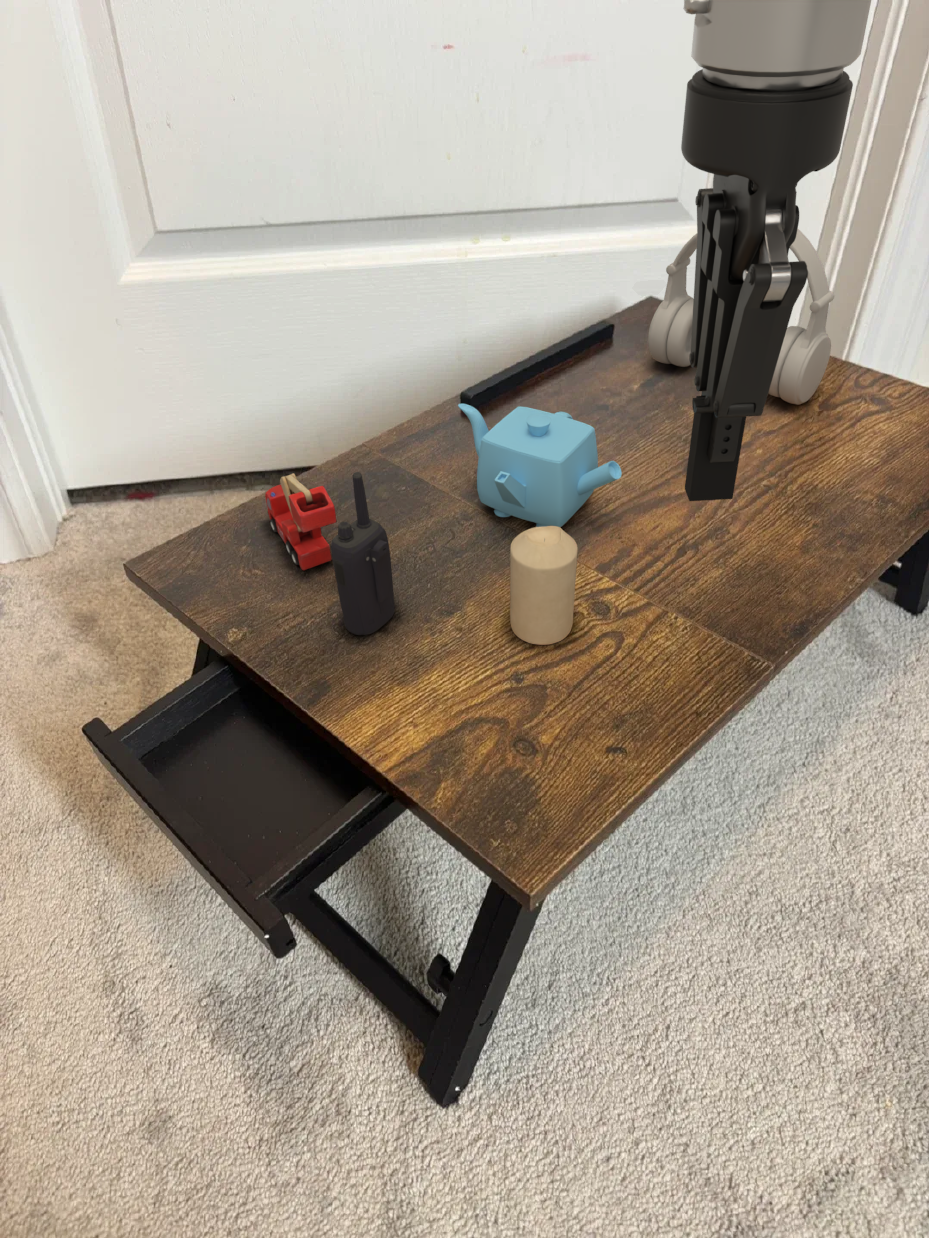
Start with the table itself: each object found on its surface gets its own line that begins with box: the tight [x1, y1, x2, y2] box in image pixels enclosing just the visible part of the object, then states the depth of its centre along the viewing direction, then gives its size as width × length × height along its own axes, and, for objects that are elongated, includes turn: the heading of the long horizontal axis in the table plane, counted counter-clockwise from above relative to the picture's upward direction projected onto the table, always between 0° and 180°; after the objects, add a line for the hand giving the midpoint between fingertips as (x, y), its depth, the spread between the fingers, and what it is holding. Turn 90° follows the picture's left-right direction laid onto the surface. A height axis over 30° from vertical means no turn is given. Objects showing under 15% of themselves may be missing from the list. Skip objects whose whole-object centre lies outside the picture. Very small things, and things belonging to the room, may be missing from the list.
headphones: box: [647, 228, 835, 406], centre depth 107 cm, size 20×8×19 cm, turn 50°
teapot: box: [457, 403, 623, 528], centre depth 92 cm, size 18×14×10 cm
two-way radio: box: [330, 471, 396, 636], centre depth 78 cm, size 6×4×15 cm
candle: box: [509, 526, 579, 646], centre depth 79 cm, size 6×6×10 cm
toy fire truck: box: [264, 473, 337, 571], centre depth 88 cm, size 3×14×10 cm, turn 28°
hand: (708, 493), depth 59 cm, fingers closed
